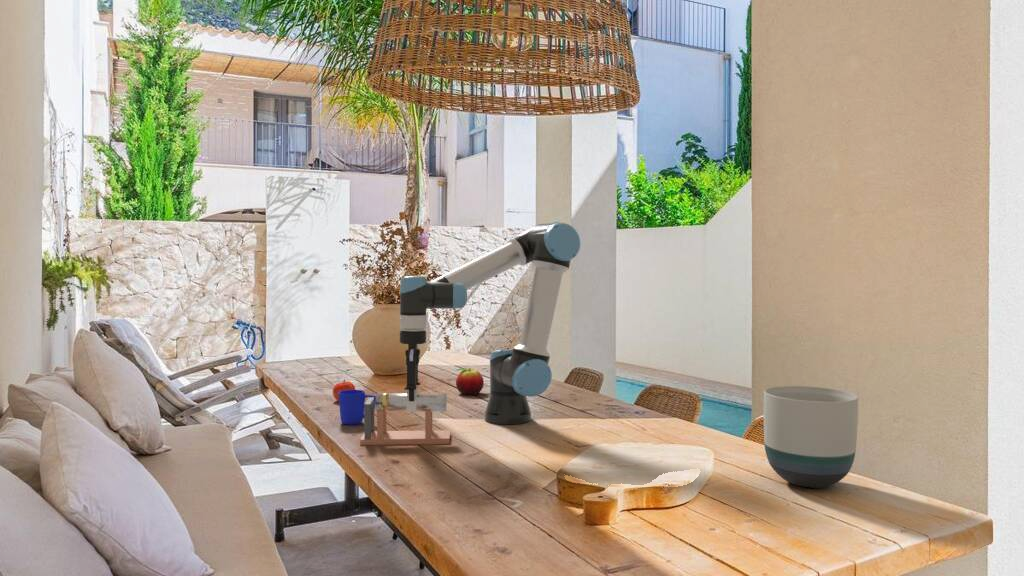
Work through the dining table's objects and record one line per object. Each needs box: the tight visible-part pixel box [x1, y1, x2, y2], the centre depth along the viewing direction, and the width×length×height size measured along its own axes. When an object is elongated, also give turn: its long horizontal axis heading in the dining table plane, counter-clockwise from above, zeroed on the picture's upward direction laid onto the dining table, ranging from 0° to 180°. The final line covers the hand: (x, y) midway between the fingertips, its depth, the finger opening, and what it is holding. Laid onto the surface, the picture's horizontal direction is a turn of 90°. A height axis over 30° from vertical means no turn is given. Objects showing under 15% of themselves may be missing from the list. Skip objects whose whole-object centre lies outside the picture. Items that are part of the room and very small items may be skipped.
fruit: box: [455, 367, 485, 396], centre depth 284 cm, size 11×11×10 cm
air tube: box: [375, 392, 448, 413], centre depth 212 cm, size 20×5×5 cm, turn 94°
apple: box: [332, 379, 356, 402], centre depth 269 cm, size 8×8×8 cm
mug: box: [338, 389, 376, 426], centre depth 233 cm, size 8×12×10 cm
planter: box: [763, 385, 859, 489], centre depth 172 cm, size 20×20×21 cm
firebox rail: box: [359, 397, 451, 446], centre depth 212 cm, size 25×10×12 cm, turn 94°
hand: (412, 409), depth 212 cm, fingers closed on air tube, 5 cm apart
